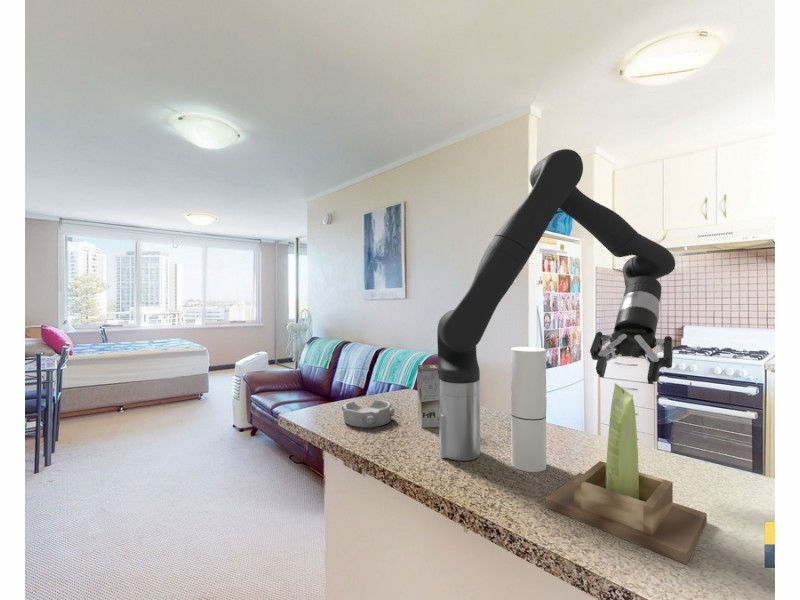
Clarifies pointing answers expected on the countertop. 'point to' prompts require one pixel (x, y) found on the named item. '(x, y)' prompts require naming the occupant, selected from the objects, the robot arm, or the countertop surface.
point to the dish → (368, 414)
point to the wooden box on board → (632, 512)
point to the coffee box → (428, 395)
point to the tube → (622, 446)
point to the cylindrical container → (528, 408)
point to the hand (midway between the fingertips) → (624, 378)
